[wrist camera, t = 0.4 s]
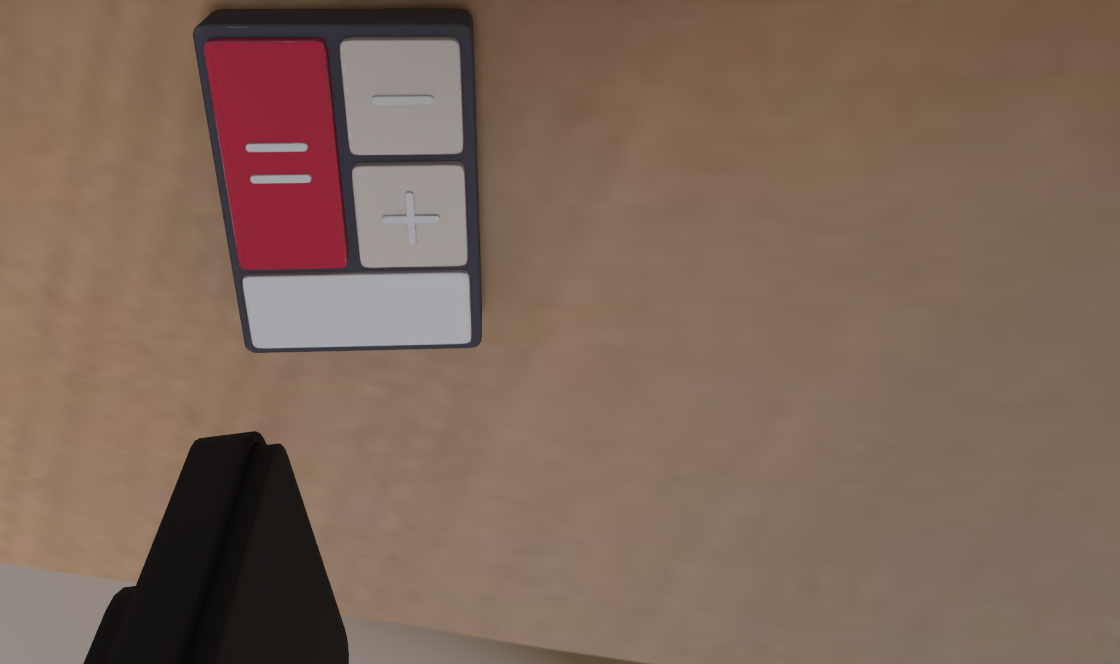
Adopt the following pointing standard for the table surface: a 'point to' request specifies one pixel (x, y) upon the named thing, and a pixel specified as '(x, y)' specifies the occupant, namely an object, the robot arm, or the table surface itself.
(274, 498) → the robot arm
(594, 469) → the table surface
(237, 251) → the calculator
